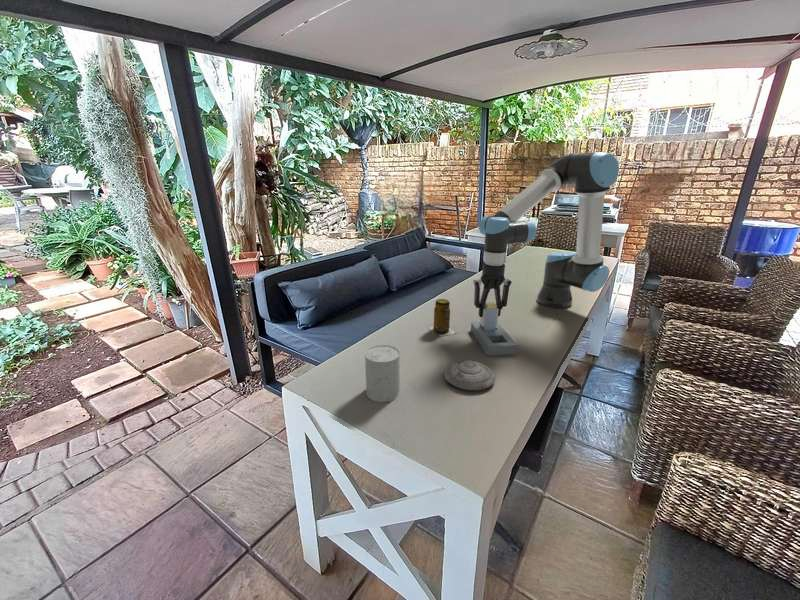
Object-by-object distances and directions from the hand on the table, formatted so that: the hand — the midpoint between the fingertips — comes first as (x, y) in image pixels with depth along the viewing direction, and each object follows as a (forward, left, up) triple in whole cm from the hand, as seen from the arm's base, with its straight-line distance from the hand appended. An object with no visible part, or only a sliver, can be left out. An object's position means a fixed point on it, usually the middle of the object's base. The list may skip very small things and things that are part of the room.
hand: (488, 324), depth 136 cm
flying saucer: (+15, +28, -5) cm, 32 cm away
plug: (0, 0, -4) cm, 4 cm away
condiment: (+16, -6, -5) cm, 18 cm away
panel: (0, +5, -5) cm, 7 cm away
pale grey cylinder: (+41, +32, -5) cm, 52 cm away
